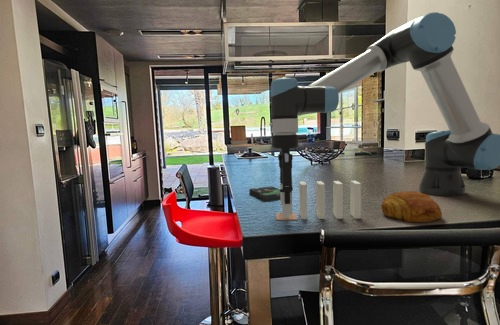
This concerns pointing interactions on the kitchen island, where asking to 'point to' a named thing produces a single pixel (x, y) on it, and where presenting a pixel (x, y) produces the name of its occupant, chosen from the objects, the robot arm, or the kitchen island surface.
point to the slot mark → (291, 217)
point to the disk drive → (266, 193)
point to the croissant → (411, 207)
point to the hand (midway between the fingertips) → (286, 209)
